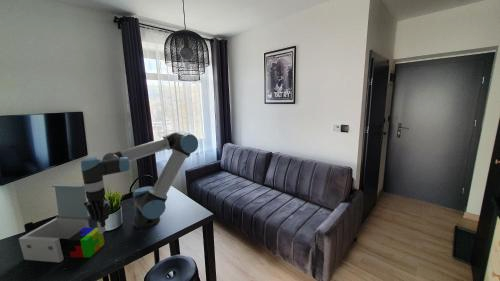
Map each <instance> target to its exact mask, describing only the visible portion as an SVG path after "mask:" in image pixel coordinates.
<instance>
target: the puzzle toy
mask: <svg viewBox="0 0 500 281" xmlns="http://www.w3.org/2000/svg"><path fill="white" fill-rule="evenodd" d="M66 241H67V244H68V249H69V253H70V258H91V257H92V256H93V255H95V254H96V253H97V252H98V251H99V250H100V249H101V248H102V247H103V246H104V245H105V238H104V232H103V233H102V234H99V232H98V227H89V228H83V229H82V230H80V231H79V232H77V233H76V234H75V235H73V236H72V237H71V238H69V239H66Z"/></svg>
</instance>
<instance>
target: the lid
mask: <svg viewBox="0 0 500 281" xmlns="http://www.w3.org/2000/svg"><path fill="white" fill-rule="evenodd" d="M51 187H52V188H54V191H55V198H56V199H55V200H56V206H57V207H56V208H57V212H58V214H57V215H59V218H72V219H87V217H88V213H87V208H86V206H85V205H84V203H85V202H87V198H86V191H85V187H84V184H82V185H81V184H79V185H78V184H52V186H51Z"/></svg>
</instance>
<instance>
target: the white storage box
mask: <svg viewBox="0 0 500 281" xmlns="http://www.w3.org/2000/svg"><path fill="white" fill-rule="evenodd" d="M90 220H91V218H90V216H88V217H87V219H75V218H59V214H57V215H56V217H55V218H53V219H51V220H50V221H48V222H46V223H45V224H43V225H40V226H39V227H37V228H35V229H33V230H31V231H30V232H28V233H26V234H25V235H21V236H20V237H19V238H18V242H19V246H20V250H21V252H22V256H23V259H24V260H26V261H34V262H35V261H37V262H38V261H39V262H49V263H50V262H51V263H61V262H63V260H64V255H63V251H62V247H61V242H60V239H62V240H63V239H64V240H68V239H69V238H71V237H72V236H73V235H75V234H76V233H77V232H79V231H80V230H82V229H83V228H90V224H89V221H90Z"/></svg>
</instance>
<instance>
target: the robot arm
mask: <svg viewBox="0 0 500 281" xmlns="http://www.w3.org/2000/svg"><path fill="white" fill-rule="evenodd" d="M198 147H199V139H198V138H197V137H196V136H195V135H194V134H192V133H189V132H184V131H175V132H173V133H170V134H167V135H163V136H162V138H158V139H155V140H152V141H149V142H146V143H142V144H139V145H136V146H132V147H130V148H126V149H123V150H119V151H116V152H115V151H114V152H108V153H106V154H104V155H103V157H102V160H101V158H100V157H95V156H94V157H88V158H84V159H82V160H81V161H80V168H81V174H82V179H83V180H82V181H83V185H84V187H85V196H86V202H85V203H84V205H85V206H86V208H87V210H88V213H89V215H90V218H91V219H90V220H91V221H94V222H95V224H96V228H98V232H99V234H102V233H103V234H104V232H106V230H107V229H106V225H107V224H106V221H107V220H108V219H109V216H110V206H111V204H112V202H111V201H110V200H109V201H107V199H106V197H105V196H106V189H105V182H104V176H110V175H115V174H119V173H124V172H128V171H129V170H130V169H131V168H130V167H131V164H130V162H133V161H136V160H138V159H142V158H145V157H147V156H150V155H153V154H156V153H159V152H162V151H165V150H167V151H169V150H171V151H172V153H171V155H170V157H169V158H168V159H167V161H166V163H165V166H164V167H163V169H162V171H161V172H160V175H159V177H158V178H157V180H156V182H155V183H154V186H151V185H150V186H143V187H140V188H137V189H135V190H134V191H133V192H132V197H133V202H134V210H135V215H134V218H133V226H134V227H135V228H136V229H147V228H148V229H149V228H151V227H154V226H155V225H156V224H158V223H159V222H160V220H161V216H162V215H163V214H164V212H165V211H166V208H167V207H166V201H167V200H168V196H167V194H168V192H169V191H170V188H171V186H172V185H173V183H174V181H175V180H176V176H177V175H178V174H179V172H180V170H181V168H182V166H183V165H184V163H185V160H186V159H187V158H189V157H190V156H191V154H192V153H195V152H196V151H197V149H198Z"/></svg>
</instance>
